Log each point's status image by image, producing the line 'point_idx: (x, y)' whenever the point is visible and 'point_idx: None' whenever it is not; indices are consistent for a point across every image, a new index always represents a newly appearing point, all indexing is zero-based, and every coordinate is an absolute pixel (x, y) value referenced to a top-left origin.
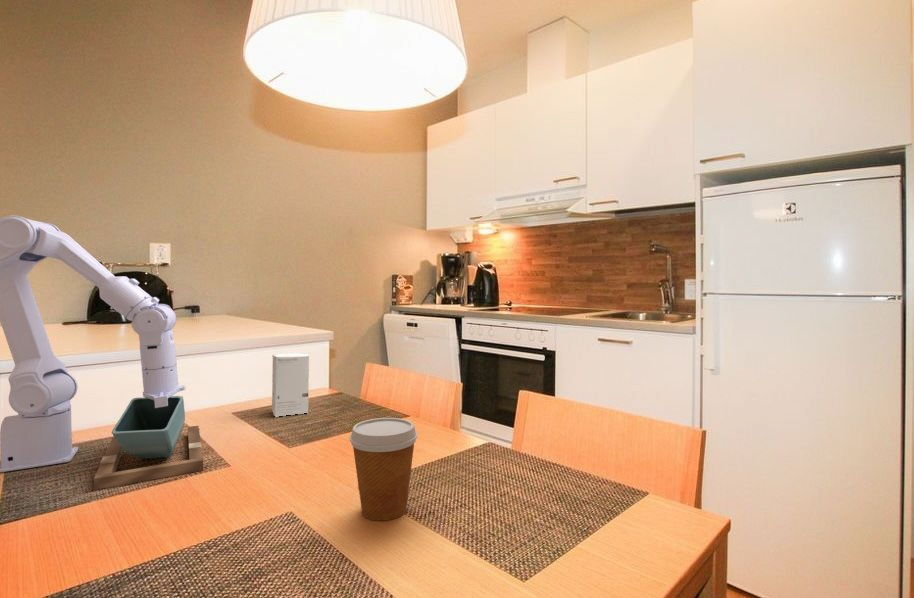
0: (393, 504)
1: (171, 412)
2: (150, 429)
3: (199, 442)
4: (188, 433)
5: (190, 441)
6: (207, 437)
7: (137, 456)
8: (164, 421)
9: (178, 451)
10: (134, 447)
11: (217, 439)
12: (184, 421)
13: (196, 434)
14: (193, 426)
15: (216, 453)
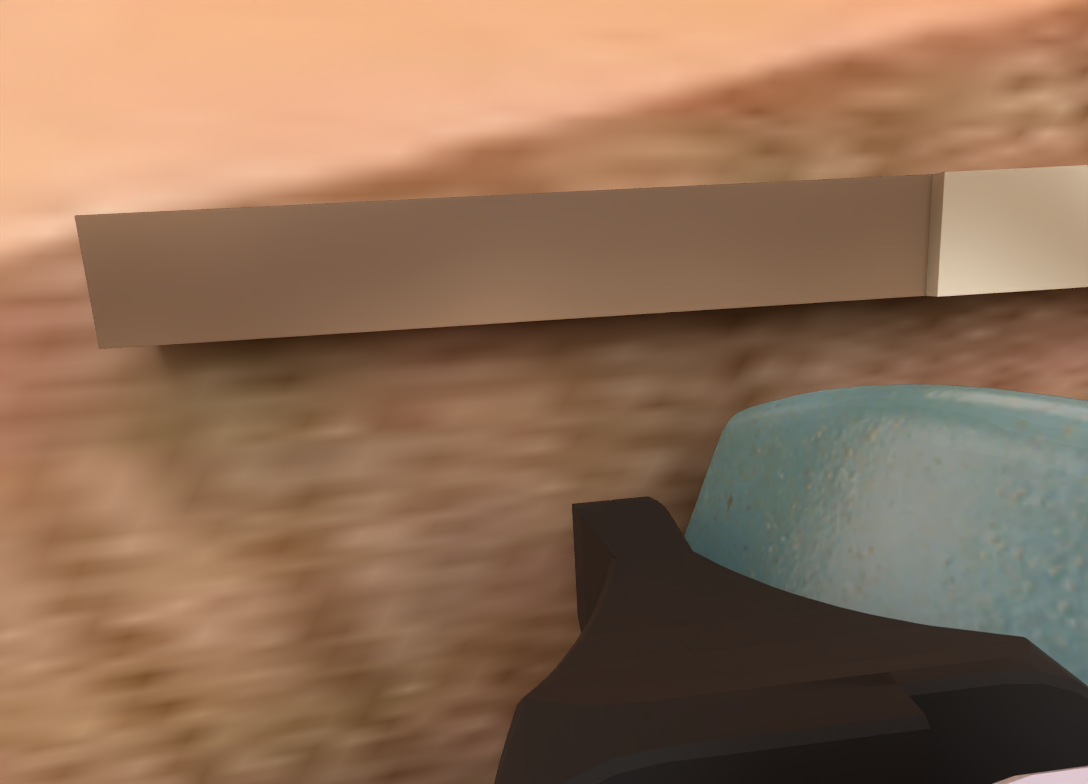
0: None
1: (1058, 656)
2: None
3: (954, 186)
4: (440, 323)
5: (790, 285)
6: (337, 121)
7: None
8: None
9: (706, 387)
10: None
11: (476, 10)
12: (941, 385)
13: (529, 230)
14: (102, 279)
15: (965, 40)
